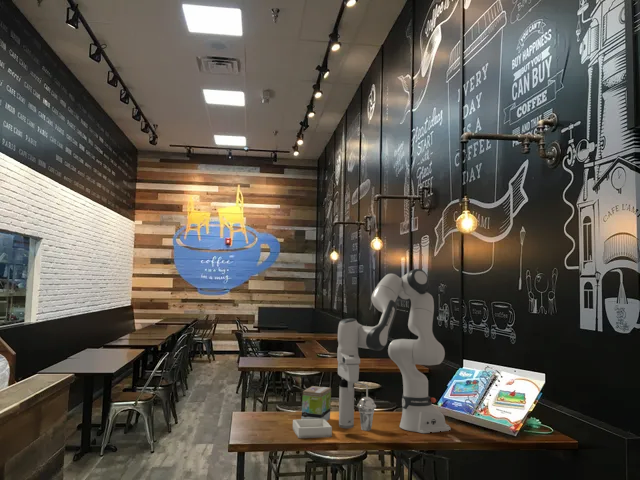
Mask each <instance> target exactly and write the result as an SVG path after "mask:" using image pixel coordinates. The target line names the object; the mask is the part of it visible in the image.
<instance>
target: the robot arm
mask: <svg viewBox="0 0 640 480" xmlns="http://www.w3.org/2000/svg"><path fill="white" fill-rule="evenodd" d="M429 284H430V281H429V277H428V274H427V273H426V272H425V271H424V270H423V269H421V268H415V269H412V270H410V271H408V272H407V273H406V274H404V275H402V276H401V277H400V276H398V275H397V274H396V273H387V274H386V275H384V277H383V278H382V279H381V280H380V281H379V282H378V283H377V285H376V287H375V288H374V290H373V291H372V294H371V297H370V299H371V302H372V305H373V306H374V308H375V309H376V310H378V312H381V313H382V314H381V316H380V319H379V322H378V324H376V325H375V326H368V325H363V324H360V323H359V322H358V321H357V319H356V318H350V317H349V318H344V319H341V320H340V321H339V323H338V325H337V326H338V327H337V342H338V344H337V345H338V347H337V353H336V355H337V357H336V358H337V375H338V376H339V377H340V378H341V380H342V379H345V380H347V381H348V387H347V391H348V392H352V388H353V384H354V385H355V384H356V383H357V382H359V375H360V364H361V358H360V356H359V348H360V349H361V348H362V349H369V350H373V351H377V352H379V351H382V350H383V349H384V348H385V347H386V346H387V345H388V341H389V334H390V331H391V329H392V326H393V323H394V320H395V317H396V314H397V308H398V306H397V303H396V301H397V300H398V301H401V302H406V301H409V300H410V310H409V315H408V322H407V326H408V330H409V331H410V333H412V334H414V335H415V336H417V337H418V338H417V339H411V338H409V339H408V338H398V339H393V340H392V341H391V342H390V343H389V345H388V347H387V348H388V349H387V353H388V357H389V358H390V360H392V361H393V363H394V364H396V366H397V368H398V369H399V370H400V373H401V375H402V377H401V378H402V385H403V386H402V389H403V393H402V396H401V397H402V398H401V406H402V412H401V419H400V423H399V428H400V429H402V430H405V431H408V432H409V431H410V432H416V433H420V434H430V432H432V433H440V431H441V432H449V430H450V431H452V430H451V426H450V425H449V424H447V423H446V419H445V415H444V414H443V413H442V412H441V410H439V409H438V408H437V407H436V406H434V405H433V404H434V403H436V402H437V399H436V398H435V397H431V396H429V380H428V378H427V375H425V374H424V373H423V372H421V371H420V370H418V368H417V367H416V365H421V366H436V365H440V364H442V362H443V361H444V359H445V355H446V352H445V348H444V346H443V345H442V344H441V342H439V341H438V340H437V338H436V337H435V335H434V332H433V321H434V312H435V303H434V301H435V300H434V298H433V297H434V296H433V295H432V294H430V293H429V290H430V285H429Z"/></svg>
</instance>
